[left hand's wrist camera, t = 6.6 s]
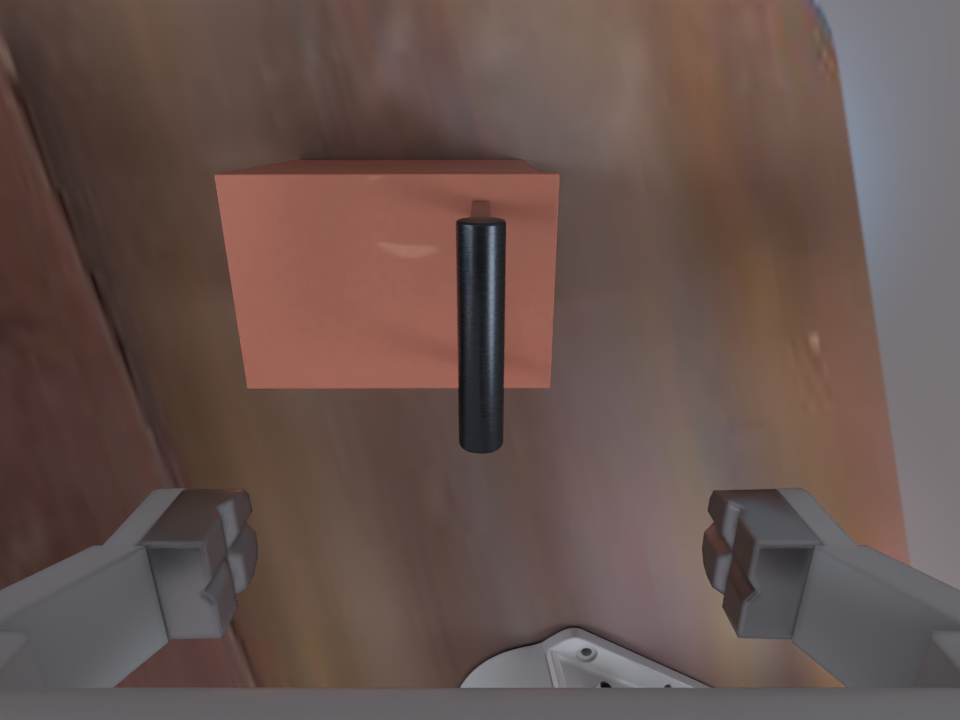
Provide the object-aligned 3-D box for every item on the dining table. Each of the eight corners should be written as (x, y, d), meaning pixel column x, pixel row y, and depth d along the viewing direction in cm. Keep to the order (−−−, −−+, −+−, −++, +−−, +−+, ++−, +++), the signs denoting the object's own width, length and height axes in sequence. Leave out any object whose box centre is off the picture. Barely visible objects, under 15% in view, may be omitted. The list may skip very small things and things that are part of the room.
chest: (522, 159, 35) (539, 171, 25) (518, 313, 39) (532, 377, 29) (297, 159, 35) (226, 172, 25) (314, 313, 39) (256, 378, 29)
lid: (556, 171, 25) (593, 192, 17) (547, 377, 29) (574, 476, 21) (225, 172, 25) (105, 193, 17) (256, 378, 29) (168, 477, 21)
